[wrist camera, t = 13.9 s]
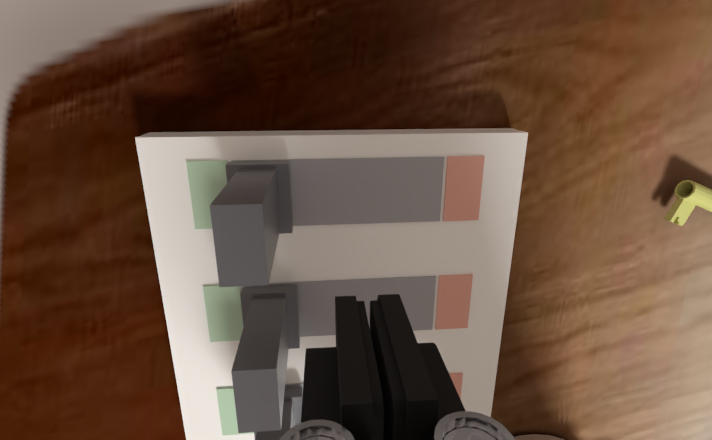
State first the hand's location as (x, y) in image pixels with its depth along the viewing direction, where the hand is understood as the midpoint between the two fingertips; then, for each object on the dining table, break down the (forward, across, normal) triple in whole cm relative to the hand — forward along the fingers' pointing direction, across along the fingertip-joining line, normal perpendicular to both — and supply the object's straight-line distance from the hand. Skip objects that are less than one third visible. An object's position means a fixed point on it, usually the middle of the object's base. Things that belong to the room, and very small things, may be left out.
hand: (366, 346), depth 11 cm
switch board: (+15, 0, +6) cm, 16 cm away
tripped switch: (+12, +4, -1) cm, 13 cm away
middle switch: (+12, +4, +6) cm, 14 cm away
